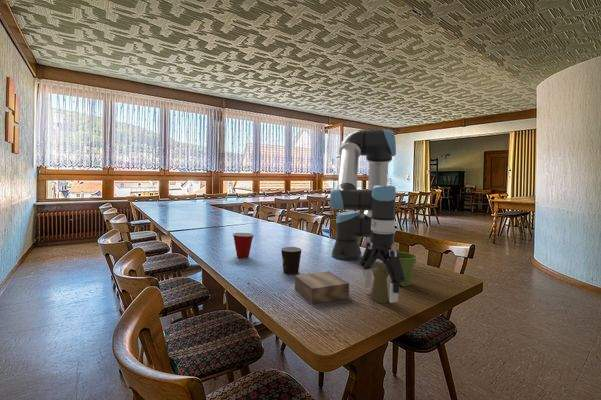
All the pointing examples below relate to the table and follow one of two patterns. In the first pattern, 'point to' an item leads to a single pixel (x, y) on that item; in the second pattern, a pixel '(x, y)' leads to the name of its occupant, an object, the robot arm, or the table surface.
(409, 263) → the plant pot
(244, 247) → the plastic cup
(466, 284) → the table surface
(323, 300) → the walnut pedestal
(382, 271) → the pepper mill
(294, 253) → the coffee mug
